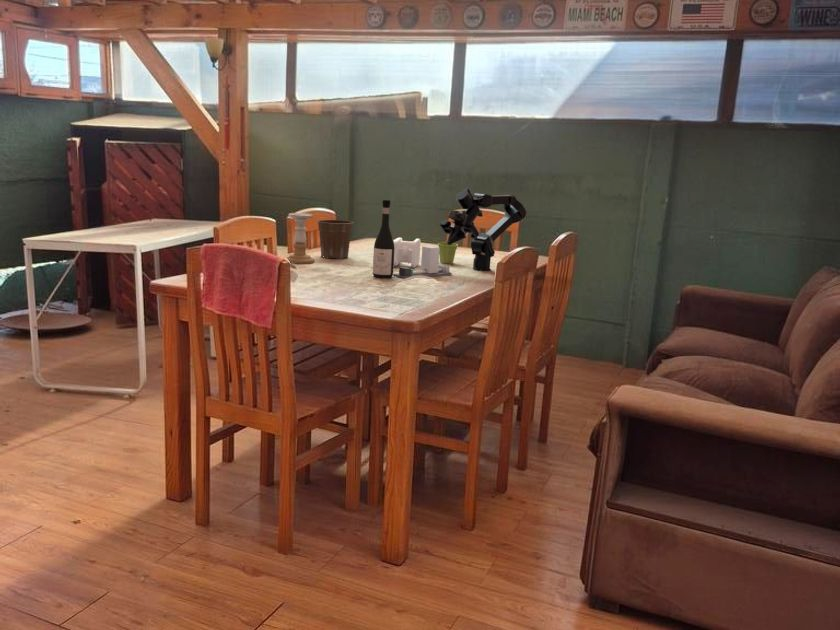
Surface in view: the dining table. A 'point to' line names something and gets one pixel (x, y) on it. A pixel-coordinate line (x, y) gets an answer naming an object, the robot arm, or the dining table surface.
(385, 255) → the wine bottle
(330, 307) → the dining table surface
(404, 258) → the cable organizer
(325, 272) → the dining table surface
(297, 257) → the candle holder
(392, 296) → the dining table surface
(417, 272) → the cord comb board
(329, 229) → the plant pot
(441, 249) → the plant pot
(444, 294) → the dining table surface
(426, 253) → the open-bottomed white box
